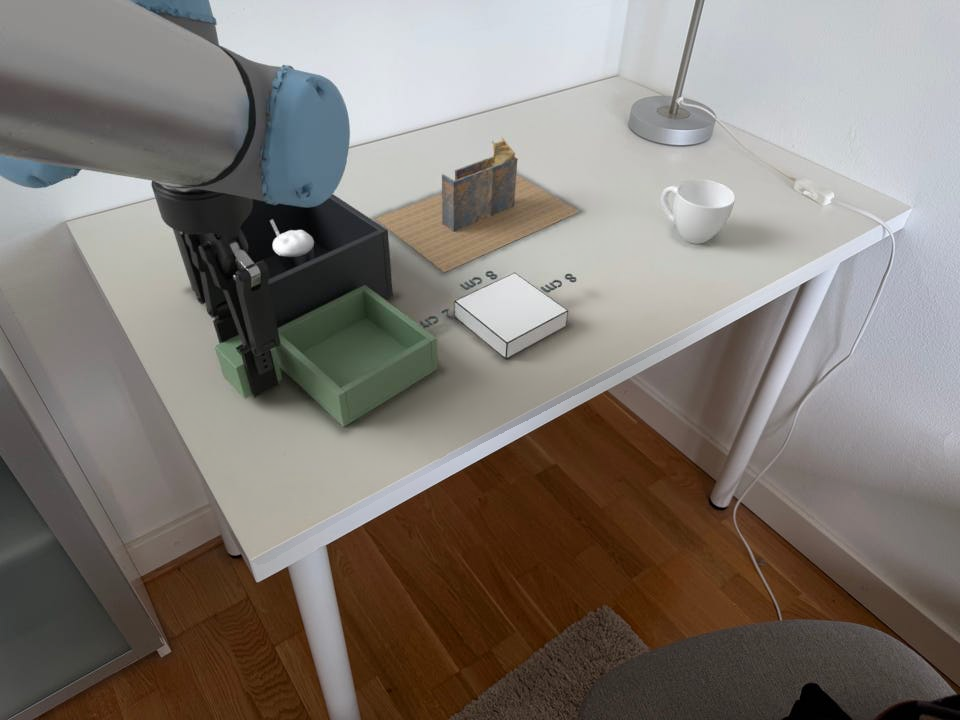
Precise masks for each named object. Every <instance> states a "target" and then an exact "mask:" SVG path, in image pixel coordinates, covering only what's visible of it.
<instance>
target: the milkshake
mask: <svg viewBox="0 0 960 720" xmlns="http://www.w3.org/2000/svg"><path fill="white" fill-rule="evenodd" d="M270 223H271V225H272V227H273V229H274V231H275V233H276V235H277V237H276V238H275V239H274V241H273V245H272V246H273V250H274V253H275V256H276V259H277V262H278V265H279V268H280V270H281V273H284V272H286V271H289V270H291V269H293V268H295V267H297V266H300V265H302V264H304V263H306V262H309V261H311V260H313V259H314V240H313V238H312V237H311V236H310V235H309V234H307V233H306V232H305V231H303V230H296V231H295V230H290V231H287V232H285V233H282V234H280V233H279V231H278V229H277V227H276V225H275V223H274V221H273V219H272V220H270Z"/></svg>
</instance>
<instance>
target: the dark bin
mask: <svg viewBox="0 0 960 720" xmlns="http://www.w3.org/2000/svg"><path fill="white" fill-rule="evenodd" d="M252 200H253V208H252V211H251V213H250V214H249V216H248V217H247V218H246V219H245V221H244V222H243V224H242V225H241V228H240V230H241V231H243V233H244V234H245V236H246V239H247V242H248V245H249V249H248V254H249V257H250V259H251V260H252V261H253V262H254V264H255V263H258V262H260V261H264V262H265V263H266V264H267V266H268V269H269V282H268V284H269V289H270V294H271V299H272V304H273V308H274V313H275V318H276V323H277V328H279V327H281V326H283V325H285V324H287V323H289V322H291V321H293V320H295V319H297V318H299V317H301V316H303V315H305V314H307V313H309V312H311V311H313V310H315V309H317V308H319V307H321V306H323V305H325V304H327V303H329V302H331V301H333V300H335V299H337V298H339V297H341V296H343V295H345V294H347V293H349V292H351V291H353V290H355V289H357V288H360V287H362V286H364V285H366V286H367V287H368V288H370V289H371V290H373V291H374V292H375V293H377V294H378V295H379V296H381V297H382V298H383V299H385V300H386V301H388V300H389V299H391V298H393V297H394V292H393V282H392V281H393V280H392V266H391V265H392V264H391V254H390V253H391V251H390V242H389V241H390V239H389V229H388V228H386V227H385V226H383V225H382V224H379V223H378V222H377V221H375V220H373V219H372V218H370V217H369V216H367V215H365V214H364V213H362V212H361V211H359V209H356V208H355V207H354V206H352V205H350V204H349V203H347V202H346V201H345V200H343V199H341V198H340V197H338V196H337V195H336V194H334V193H333V194H332V195H331V196H330V198H328V199H327V200H326V201H324V202H323V203H322V204H320V205H318V206H315V207H299V206H292V205H285V204H277V205H273V204H269V203H266V202H264V201H260V200H255V199H252ZM272 219H273V221H274V223H275V225H276V227H277V229H278V231H279V233H280V234H282V233H285V232H287V231H290V230H295V231H296V230H303V231H305V232H306V233H307V234H309V235H310V236H311V237H312V238H313V240H314V259H313V260H311V261H309V262H306V263H304V264H302V265H300V266H297V267H295V268H293V269H291V270H289V271H286V272H284V273H281V270H280V268H279V265H278V262H277V259H276V256H275V253H274V250H273V246H272V245H273V241H274V239H275V238H276V237H277V235H276V233H275V231H274V229H273V227H272V225H271V223H270V220H272ZM172 231H173V234H174V237H175V241H176V243H177V246H178V247H177V248H178V250H179V252H180V253H179V254H180V255H181V259H182V262H183V265H184V268H185V271H186V274H187V277H188V280H189V284H190V287H191V290H192V291H193V292H194V293H195V290H194V286H193V283H192V280H191V277H190V274H189V271H188V267H187V264H186V261H185V258H184V255H183V252H182V248H181V245H180V242H179V239H178V236H177V234H176V232H175V229H173V228H172Z"/></svg>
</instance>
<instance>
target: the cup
mask: <svg viewBox="0 0 960 720" xmlns="http://www.w3.org/2000/svg"><path fill="white" fill-rule="evenodd" d="M670 193H672V194H674V199H673V203H672V204H673V205H672V209H671V206H670V204H669V199H668V198H669V194H670ZM735 202H736V195H735V193H734V191H733V190H732V189H730V188H729V187H728V186H726V185H724V184H722V183H720V182H717V181H714V180H710V179H702V178H701V179H700V178H696V179H695V178H694V179H688V180H686V181H682V182H680V183H679V184H678V185H677V186H676V185H668V186H667V187H665V188H664V189H663V191H662V193H661V195H660V205H661V208H662V211H663V213H664V214H665V216H666V218H668V220H669V221H671V222H672V223H674V226H675V229H676V231H677V234H678V236H679V237H680V239H682V240H683V241H685V242H686V243H689V244H695V245H701V244H705V243H708V242H709V241H710V240H711V239H713V238H714V237H715V236H716V235H717V234H718V233H719V232H721V230H722V229H723V228H724V226H725V225H726V224H727V221H728V220H729V218H730V216H731V213H732V211H733V208H734V205H735Z"/></svg>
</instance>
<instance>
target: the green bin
mask: <svg viewBox="0 0 960 720" xmlns="http://www.w3.org/2000/svg"><path fill="white" fill-rule="evenodd" d="M422 327H423V326H422V325H421V324H419V323H417V322H416V321H414V320H413V319H411V318H410V317H409V316H407V315H406V314H405V313H404V312H402V311H401V310H400V309H399V308H397V307H396V306H394V305H393V304H391V303H390V302H389V301H388V300H385V299H383V298H382V297H381V296H379V295H378V294H377V293H375V292H374V291H373V290H371V289H370V288H368V287H367V286H366V285H364V286H362V287H360V288H357V289H355V290H353V291H351V292H349V293H347V294H345V295H343V296H341V297H339V298H337V299H335V300H333V301H331V302H329V303H327V304H325V305H323V306H321V307H319V308H317V309H315V310H313V311H311V312H309V313H307V314H305V315H303V316H301V317H299V318H297V319H295V320H293V321H291V322H289V323H287V324H285V325H283V326H281V327H279V328H278V333H279V337H280V342H281V344H280V345H279V346H277V347H275V350H276V354H277V358H278V363H279V367H280V369H281V370H283V372H285V373H286V374H287V375H288V376H289V377H290V378H291V379H292V380H293V381H294V382H295V383H296V384H297V385H298V386H300V387H301V389H303V391H305V392H306V394H308V395H309V396H310V397H311V398H312V399H313V400H314V401H315V402H317V404H319V405H320V406H321V408H323V409H324V410H325V411H326V412H327V413H328V414H329V415H330V416H331V417H332V418H333V419H335V421H336V422H338V424H339V425H341V426H342V427H343V428H345V427H347V426H348V425H350V424H351V423H353V422H355V421H356V420H357V419H359V418H361V417H363V416H364V415H365V414H367V413H369V412H371V411H372V410H374V409H375V408H377V407H379V406H380V405H382V404H383V403H385V402H387V401H388V400H390V399H392V398H393V397H395V396H396V395H398V394H400V393H402V392H403V391H405V390H406V389H408V388H410V387H411V386H413V385H415V384H416V383H418V382H419V381H421V380H423V379H424V378H426V377H427V376H429V375H430V374H432V373H434V372H436V371H437V370H438V338H437V337H436V336H435V335H433V334H432V333H431V332H429V331H428V330H426V328H425V329H424V328H422Z"/></svg>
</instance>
